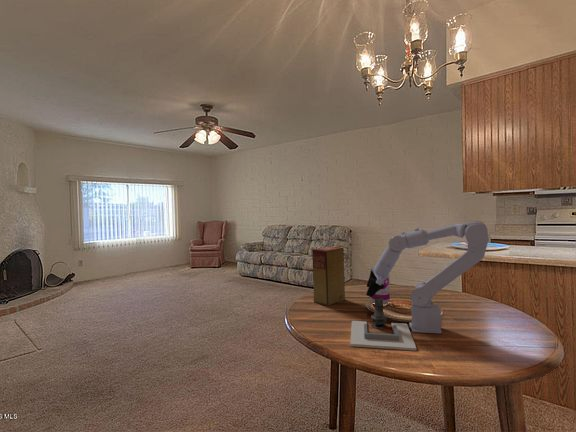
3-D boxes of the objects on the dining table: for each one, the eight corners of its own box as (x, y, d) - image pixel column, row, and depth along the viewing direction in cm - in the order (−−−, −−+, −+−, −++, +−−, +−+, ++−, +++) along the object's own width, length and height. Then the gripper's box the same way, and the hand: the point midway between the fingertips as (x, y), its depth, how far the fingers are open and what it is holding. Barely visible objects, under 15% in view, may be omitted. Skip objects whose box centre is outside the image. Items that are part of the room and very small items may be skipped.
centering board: (406, 325, 116) (406, 319, 116) (416, 350, 96) (416, 342, 96) (351, 322, 120) (351, 316, 120) (350, 346, 101) (350, 338, 101)
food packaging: (330, 295, 156) (329, 245, 155) (346, 299, 149) (345, 247, 148) (312, 302, 147) (311, 249, 146) (328, 306, 140) (326, 250, 139)
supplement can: (392, 307, 137) (391, 272, 136) (373, 307, 137) (372, 273, 137) (386, 301, 145) (386, 269, 145) (368, 301, 145) (368, 269, 145)
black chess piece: (388, 329, 113) (387, 297, 112) (371, 329, 114) (370, 296, 114) (386, 323, 119) (386, 292, 118) (370, 323, 120) (369, 291, 119)
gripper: (376, 251, 126) (360, 279, 130) (376, 264, 112) (358, 294, 116) (392, 260, 125) (375, 287, 129) (394, 274, 111) (376, 304, 115)
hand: (368, 291), depth 123 cm, fingers open, 7 cm apart
